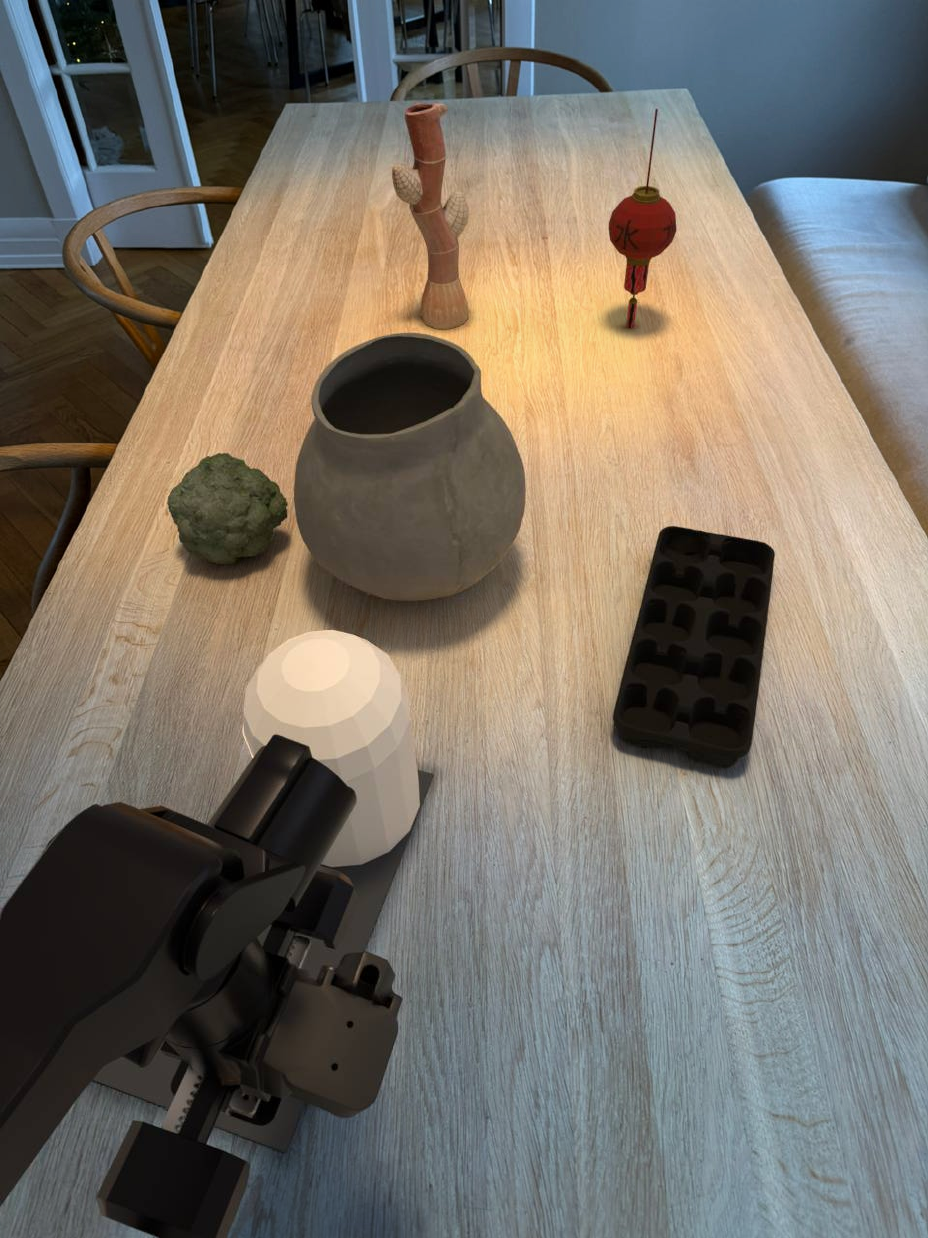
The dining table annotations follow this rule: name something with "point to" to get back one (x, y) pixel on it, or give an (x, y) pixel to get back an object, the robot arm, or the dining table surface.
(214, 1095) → the robot arm
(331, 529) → the ceramic pot
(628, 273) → the lantern
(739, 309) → the dining table surface
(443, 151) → the vase
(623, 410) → the dining table surface
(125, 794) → the dining table surface
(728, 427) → the dining table surface
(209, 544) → the vegetable
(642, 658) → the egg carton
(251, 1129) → the plate
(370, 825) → the container
